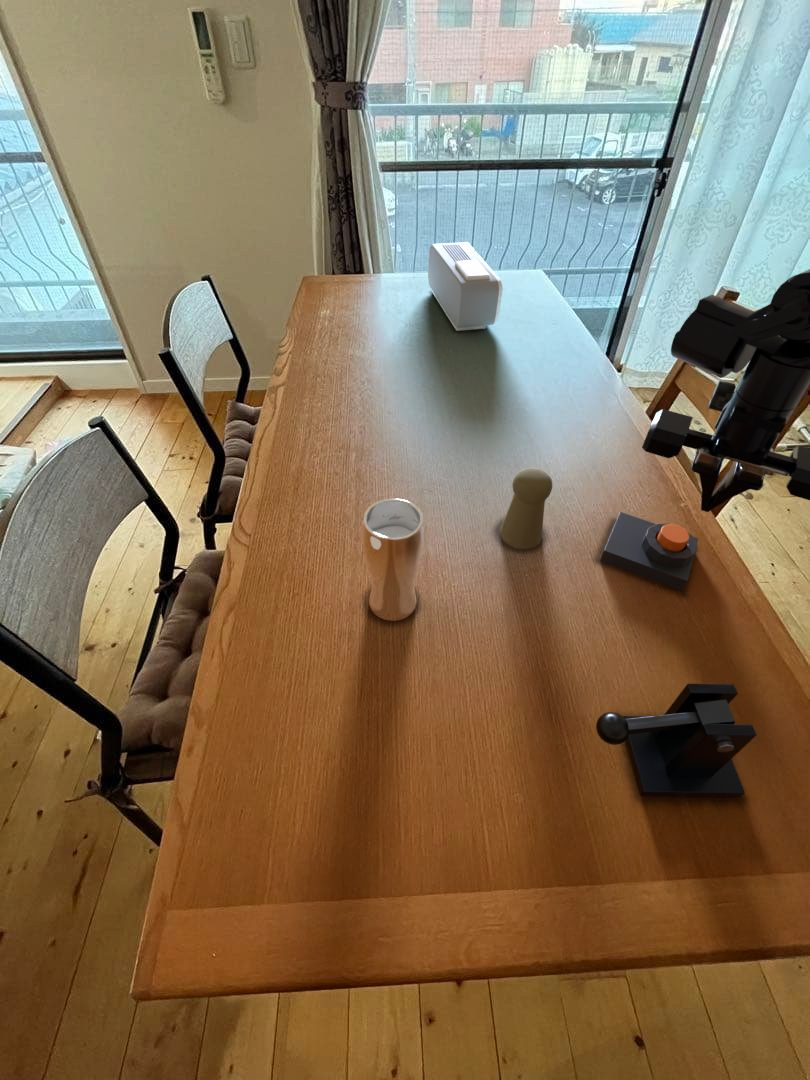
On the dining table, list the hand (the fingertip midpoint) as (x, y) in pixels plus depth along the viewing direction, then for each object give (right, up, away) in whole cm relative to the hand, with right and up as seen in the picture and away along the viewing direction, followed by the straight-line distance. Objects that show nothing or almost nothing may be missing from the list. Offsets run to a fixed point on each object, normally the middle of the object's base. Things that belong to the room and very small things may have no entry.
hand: (704, 509), depth 68 cm
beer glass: (-38, -12, +4) cm, 40 cm away
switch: (-12, -22, -14) cm, 29 cm away
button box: (-2, -6, +11) cm, 12 cm away
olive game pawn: (-20, -3, +13) cm, 24 cm away
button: (-1, -4, +7) cm, 8 cm away
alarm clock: (-23, +52, +66) cm, 87 cm away
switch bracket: (-8, -27, -10) cm, 29 cm away
